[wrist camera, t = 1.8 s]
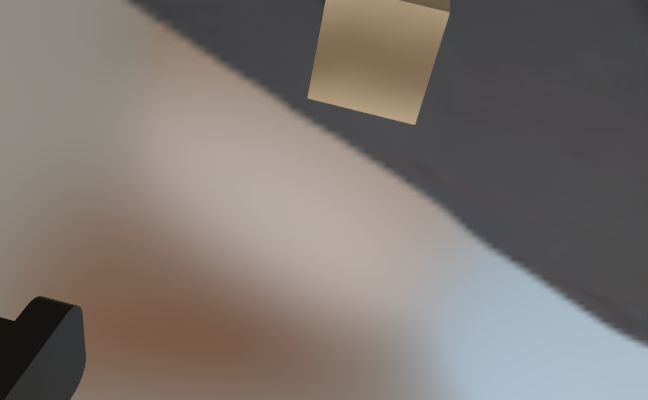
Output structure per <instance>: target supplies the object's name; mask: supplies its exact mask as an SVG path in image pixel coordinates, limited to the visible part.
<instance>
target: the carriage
mask: <svg viewBox="0 0 648 400" xmlns="http://www.w3.org/2000/svg"><path fill="white" fill-rule="evenodd" d="M449 14H450V0H326V2H325V7H324V12H323V18H322V23H321V29H320V34H319V39H318V45H317V50H316V56H315V61H314V66H313V72H312V77H311V83H310V88H309V93H308V99H312V100H316V101H320V102H324V103H328V104H333V105H337V106H341V107H345V108H349V109H353V110H357V111H361V112H365V113H369V114H373V115H377V116H381V117H385V118H389V119H393V120H397V121H401V122H405V123H409V124H413V125H415V123H416V120H417V117H418V113H419V110H420V107H421V104H422V101H423V97H424V94H425V91H426V88H427V85H428V81H429V78H430V75H431V72H432V68H433V65H434V62H435V59H436V56H437V52H438V49H439V46H440V43H441V40H442V36H443V33H444V30H445V27H446V24H447V20H448V17H449Z"/></svg>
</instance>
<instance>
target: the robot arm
mask: <svg viewBox="0 0 648 400" xmlns="http://www.w3.org/2000/svg"><path fill="white" fill-rule="evenodd" d="M85 363H86V352H85V339H84V327H83V315H82V309H81V308H80V307H79V306H77V305H73V304H69V303H65V302H61V301H57V300H54V299H50V298H46V297H42V296H39V297H36V298H34V299H33V300H32V301H31V302H30V303H29V304H28V305H27V307H26V308H25V309H24V310H23V311H22V313H21V314H20V315H19V317H18V318H17V319H16V320H15V321H12V320H8V319H4V318H1V317H0V400H70V399H71V397H72V396H73V394H74V392H75V391H76V389H77V387H78V385H79V383H80V380H81V378H82V375H83V372H84V368H85Z"/></svg>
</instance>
